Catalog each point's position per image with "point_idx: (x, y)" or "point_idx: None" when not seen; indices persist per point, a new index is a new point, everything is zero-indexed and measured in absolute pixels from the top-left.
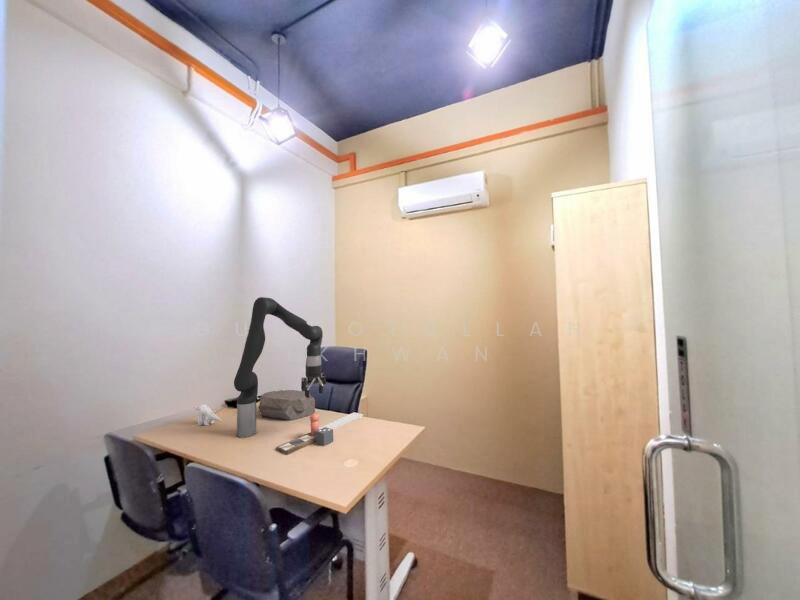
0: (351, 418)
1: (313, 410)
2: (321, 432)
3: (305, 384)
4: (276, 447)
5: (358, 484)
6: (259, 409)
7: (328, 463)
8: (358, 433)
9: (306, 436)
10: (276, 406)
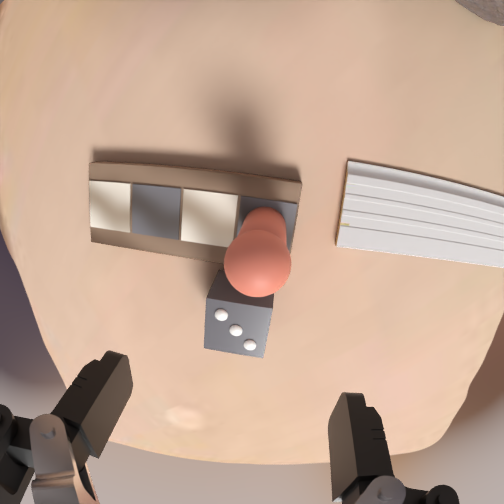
0: (496, 256)
1: (496, 21)
2: (209, 331)
3: (6, 499)
4: (90, 164)
5: (138, 442)
6: None
7: (146, 380)
8: (370, 360)
9: (221, 207)
10: None
